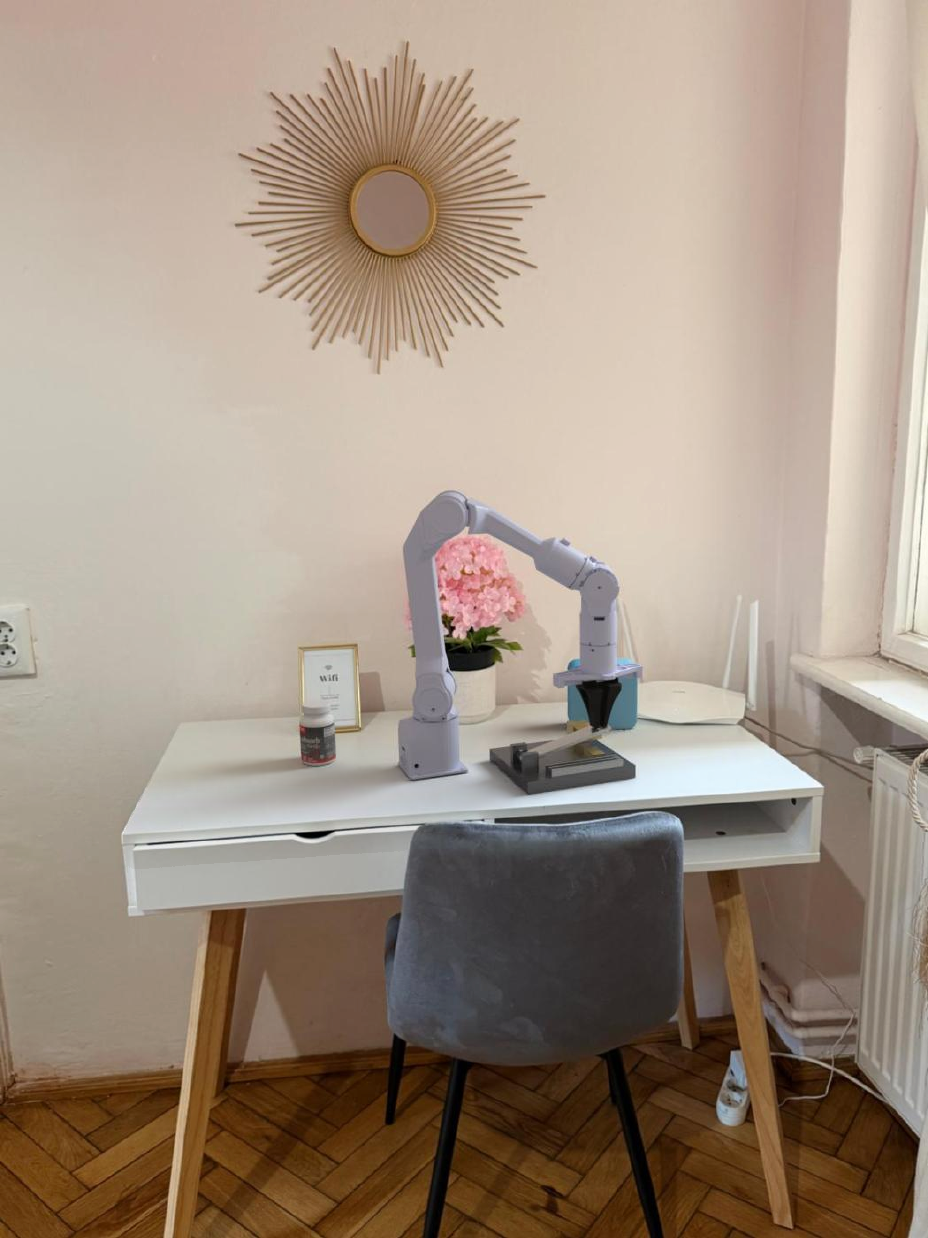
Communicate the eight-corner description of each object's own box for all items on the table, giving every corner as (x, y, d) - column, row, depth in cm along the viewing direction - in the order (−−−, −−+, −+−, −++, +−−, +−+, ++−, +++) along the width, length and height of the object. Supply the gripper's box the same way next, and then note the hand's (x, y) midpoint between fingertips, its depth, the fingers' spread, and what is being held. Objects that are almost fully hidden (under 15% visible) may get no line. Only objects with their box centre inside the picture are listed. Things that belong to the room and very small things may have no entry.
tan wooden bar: (525, 767, 153) (523, 759, 153) (517, 761, 156) (515, 753, 155) (611, 732, 157) (610, 724, 157) (603, 726, 160) (601, 718, 159)
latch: (586, 753, 160) (586, 734, 159) (566, 739, 167) (566, 721, 166) (603, 750, 161) (603, 731, 160) (583, 737, 168) (583, 718, 167)
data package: (633, 721, 182) (634, 657, 180) (637, 729, 178) (638, 663, 175) (567, 722, 182) (567, 658, 180) (569, 730, 178) (569, 665, 175)
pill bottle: (294, 764, 164) (290, 705, 162) (315, 753, 169) (311, 696, 167) (323, 769, 162) (319, 710, 160) (343, 758, 167) (340, 700, 165)
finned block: (527, 794, 149) (527, 763, 148) (489, 760, 164) (489, 731, 163) (635, 777, 155) (635, 746, 154) (589, 746, 169) (589, 717, 168)
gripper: (566, 652, 149) (567, 739, 152) (652, 642, 153) (651, 727, 156) (547, 642, 155) (548, 726, 158) (630, 633, 160) (630, 714, 163)
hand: (598, 726), depth 158 cm, fingers closed
